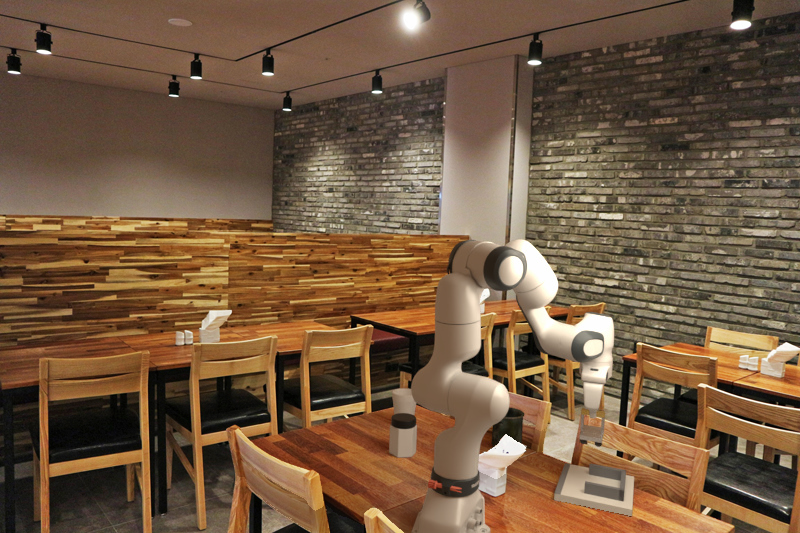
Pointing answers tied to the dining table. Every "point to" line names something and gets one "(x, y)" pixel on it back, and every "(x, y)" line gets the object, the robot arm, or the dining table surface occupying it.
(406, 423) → the jar
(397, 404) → the foam cup
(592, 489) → the dock
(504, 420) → the mug
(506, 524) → the dining table surface
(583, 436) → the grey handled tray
